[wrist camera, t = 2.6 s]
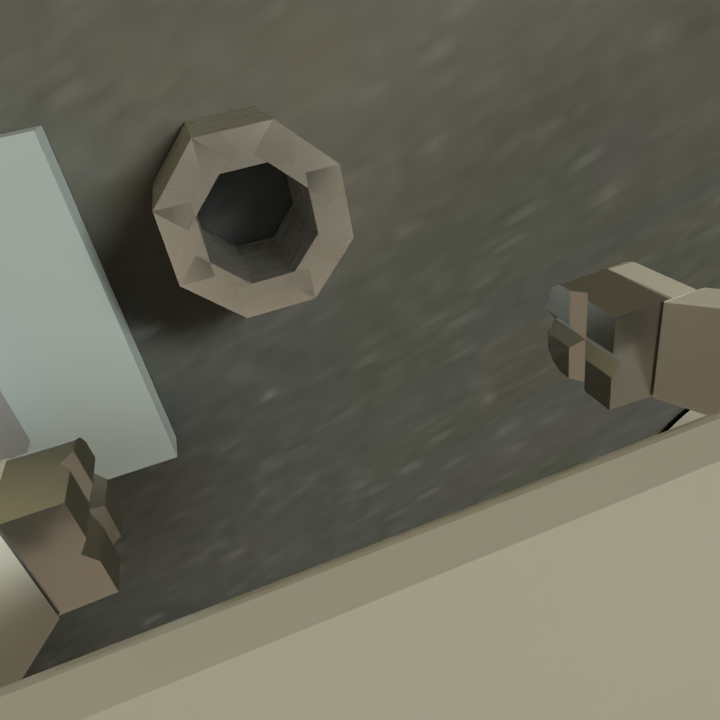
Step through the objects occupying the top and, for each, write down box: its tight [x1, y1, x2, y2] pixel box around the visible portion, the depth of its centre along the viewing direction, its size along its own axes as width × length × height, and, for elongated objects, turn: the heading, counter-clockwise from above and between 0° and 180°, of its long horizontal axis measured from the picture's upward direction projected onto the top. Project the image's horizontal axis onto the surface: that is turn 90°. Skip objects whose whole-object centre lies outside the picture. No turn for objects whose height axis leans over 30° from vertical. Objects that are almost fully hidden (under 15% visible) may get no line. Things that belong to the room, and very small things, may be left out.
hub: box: [152, 106, 354, 318], centre depth 21 cm, size 6×6×4 cm
